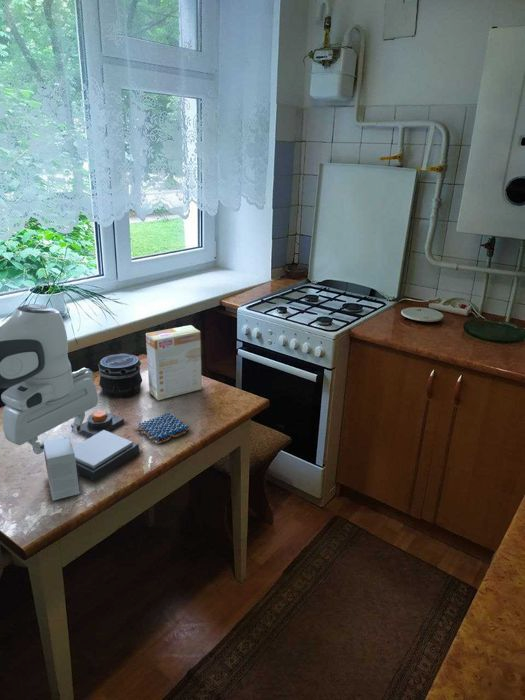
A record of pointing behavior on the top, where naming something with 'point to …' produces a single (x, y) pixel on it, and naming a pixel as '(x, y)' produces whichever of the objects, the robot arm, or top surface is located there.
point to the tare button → (99, 416)
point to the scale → (102, 454)
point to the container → (120, 375)
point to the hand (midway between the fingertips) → (58, 441)
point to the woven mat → (163, 428)
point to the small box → (61, 467)
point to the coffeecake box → (174, 361)
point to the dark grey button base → (100, 424)
